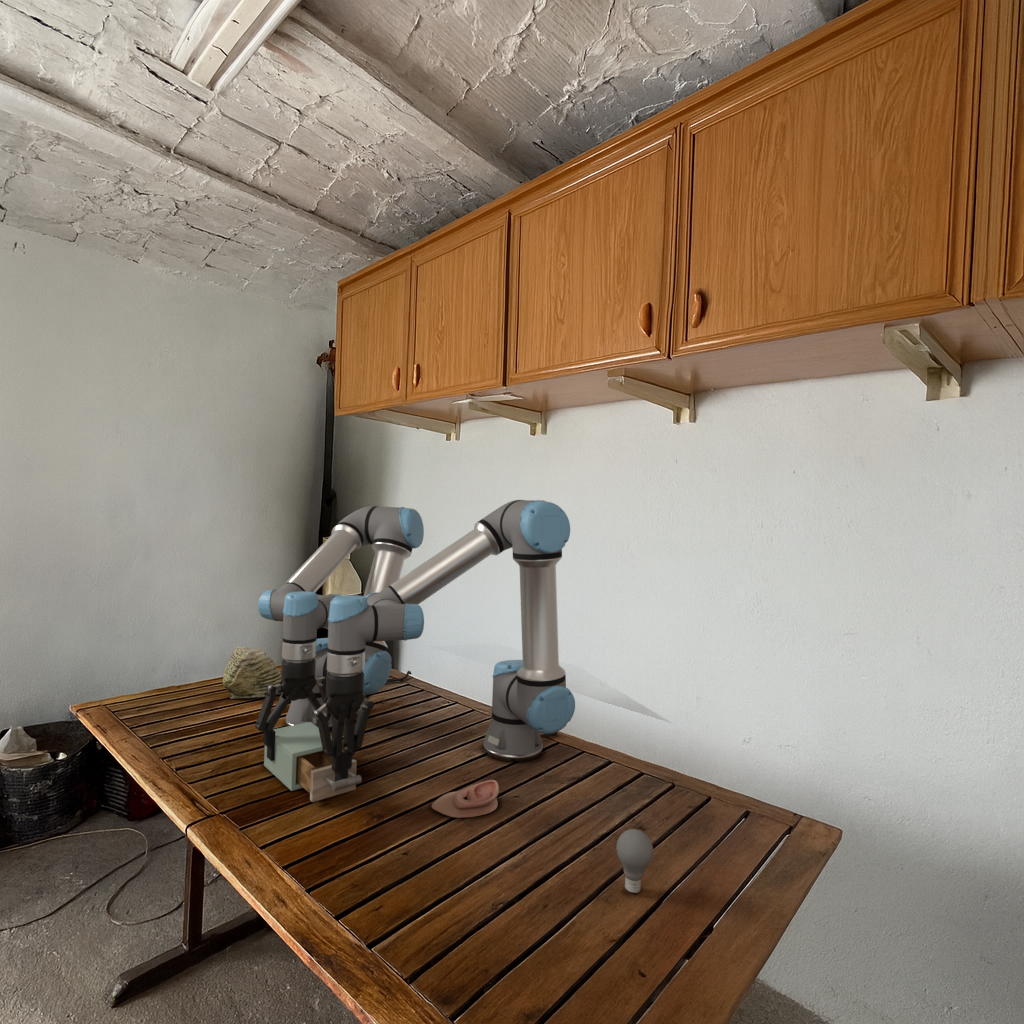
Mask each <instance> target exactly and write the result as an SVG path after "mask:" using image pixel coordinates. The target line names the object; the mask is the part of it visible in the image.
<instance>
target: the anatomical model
mask: <svg viewBox="0 0 1024 1024" xmlns="http://www.w3.org/2000/svg"><path fill="white" fill-rule="evenodd" d="M499 793H500V786H499V782H498V781H497V780H495V779H489V780H485V781H481V782H478V783H475V784H472V785H470V786H467V787H466V788H463V789H461V790H458V791H451V792H447V793H445V794H443V795H442V796H440V797H438V798H437V799H435V800H434V801H433V803H432V804H431V808H432V810H434V811H436V812H438V813H439V814H442V815H444V816H447V817H451V818H454V819H455V818H457V819H459V818H460V819H461V818H463V819H464V818H474V817H480V816H484V815H487V814H490V813H492V812H494V811H495V810H496V809H498V806H499V805H498V804H499V803H498V802H499V801H498V796H499Z"/></svg>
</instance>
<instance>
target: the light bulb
mask: <svg viewBox="0 0 1024 1024" xmlns="http://www.w3.org/2000/svg"><path fill="white" fill-rule="evenodd" d="M615 849H616V854H617V857H618V859H619V861H620V863H621V865H622V867H623V873H624V874H623V875H624V876H625V878H624V888H625V890H627V891H628V892H630V893H634V894H635V893H639V892H640V891H641V889H642V887H641V886H642V879H643V877H644V875H645V871H646V868H647V867H648V866H649V864H650V863H651V861H652V859H653V855H654V847H653V843H652V841H651V838H649V836H648V835H647V834H646V833H645V832H643V831H642V830H641V829H636V828H629V829H627V830H625V831H623V832H622V833H621V834H620V835H619V837H618V839H617V841H616V847H615Z"/></svg>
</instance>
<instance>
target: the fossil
mask: <svg viewBox="0 0 1024 1024" xmlns="http://www.w3.org/2000/svg"><path fill="white" fill-rule="evenodd" d="M222 676H223V677H222V685H223V687H224V688H225V690H226V691H228V693H229V698H230V699H250V698H265V697H266V695H267V685H269V684H271V685H278V684H280V682H281V679H282V678H281V669H279V668H278V667H277V665H276V663H275V662H274V660H273V659H272V658H271V657H270V656H269V655H268V654H267V653H266V652H265V650H264V649H263V648H260V647H258V648H251V647H247V646H246V647H245V646H238V647H237V648H236V649H235V650H233V651H232V653H231V656H230V657H229V659H228V660H227V663H226V666H225V668H224V671H223V675H222ZM282 693H283V692H282V691H281V690H279V691H278V694H277V695H281V694H282Z"/></svg>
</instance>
